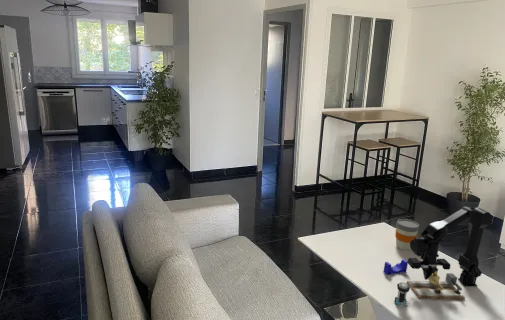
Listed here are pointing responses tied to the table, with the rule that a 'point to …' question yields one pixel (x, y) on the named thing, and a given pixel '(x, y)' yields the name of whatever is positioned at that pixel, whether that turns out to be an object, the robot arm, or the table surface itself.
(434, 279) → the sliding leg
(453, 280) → the fixed leg
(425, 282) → the board
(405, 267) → the cable clip
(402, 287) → the push button
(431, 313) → the table surface
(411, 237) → the reusable coffee cup
